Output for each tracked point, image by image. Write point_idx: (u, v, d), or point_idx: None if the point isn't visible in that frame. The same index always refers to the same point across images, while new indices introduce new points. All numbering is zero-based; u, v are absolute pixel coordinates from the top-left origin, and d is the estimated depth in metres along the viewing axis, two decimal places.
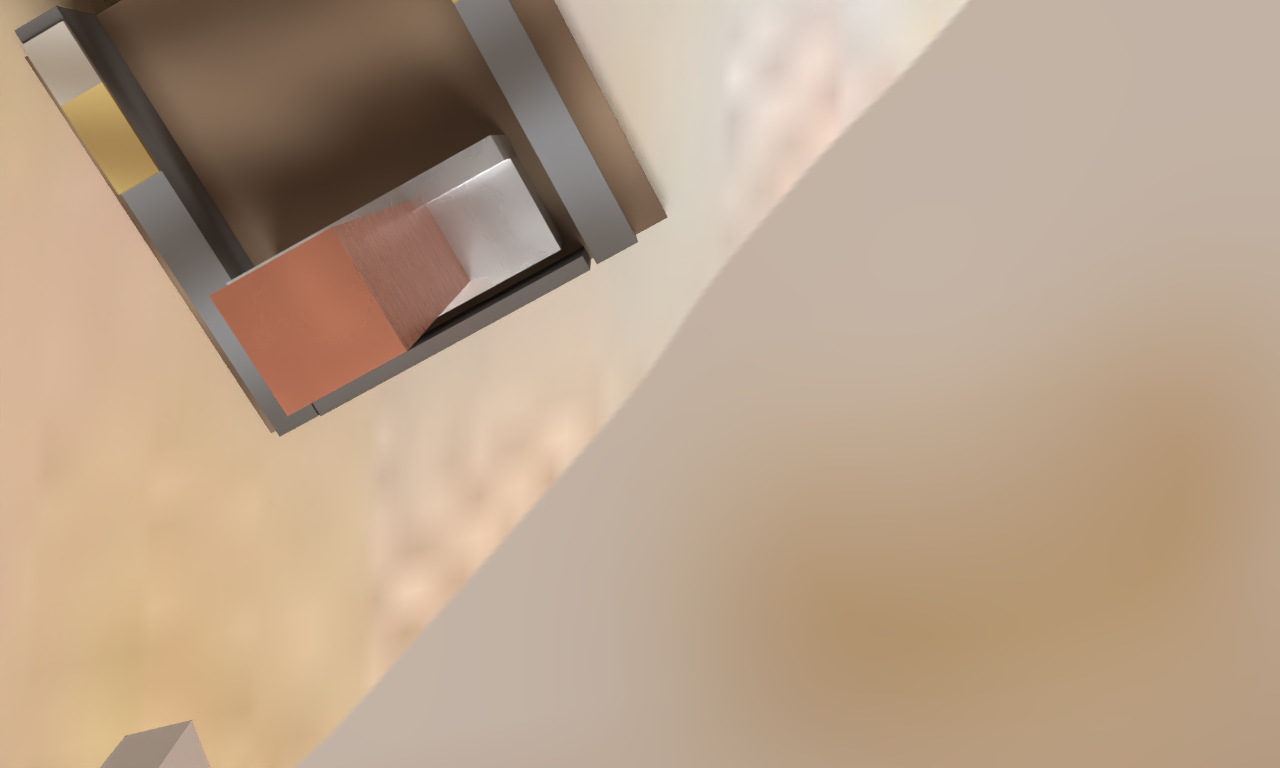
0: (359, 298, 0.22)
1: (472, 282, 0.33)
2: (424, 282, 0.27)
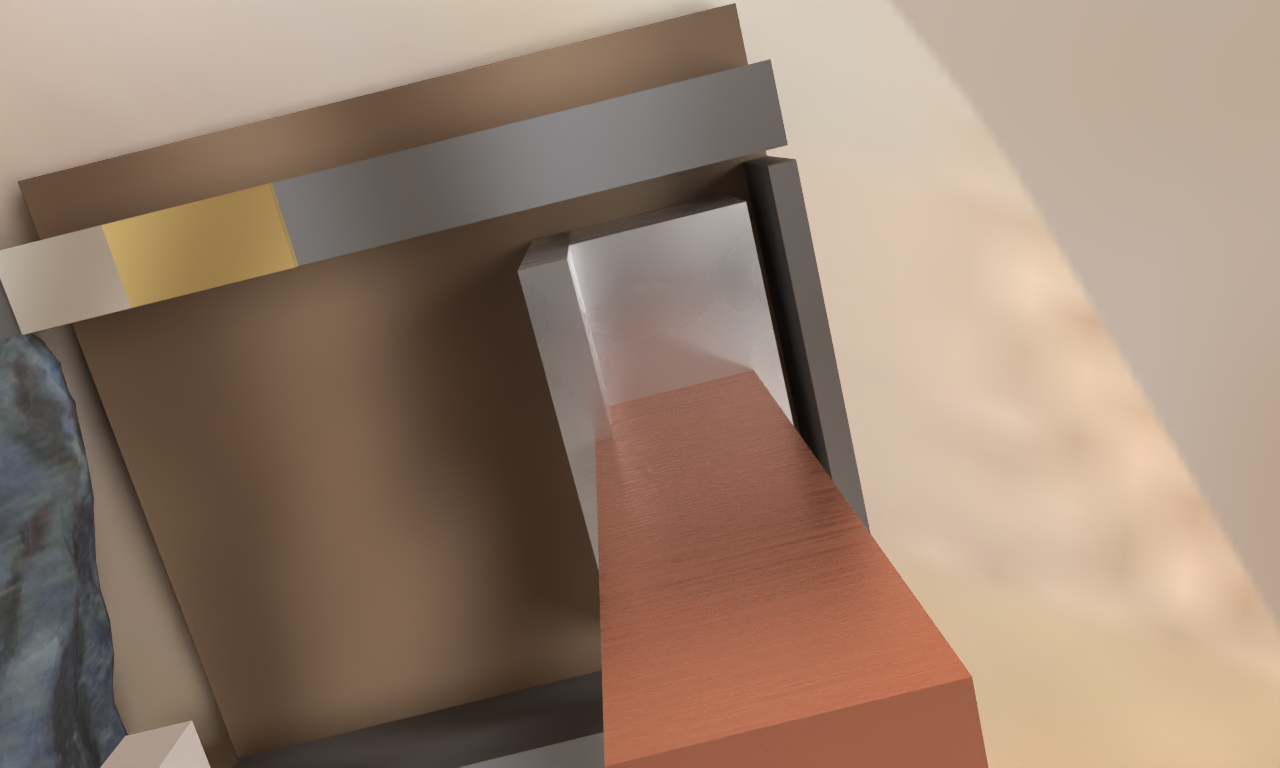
0: (802, 750, 0.08)
1: (757, 368, 0.19)
2: (759, 491, 0.13)
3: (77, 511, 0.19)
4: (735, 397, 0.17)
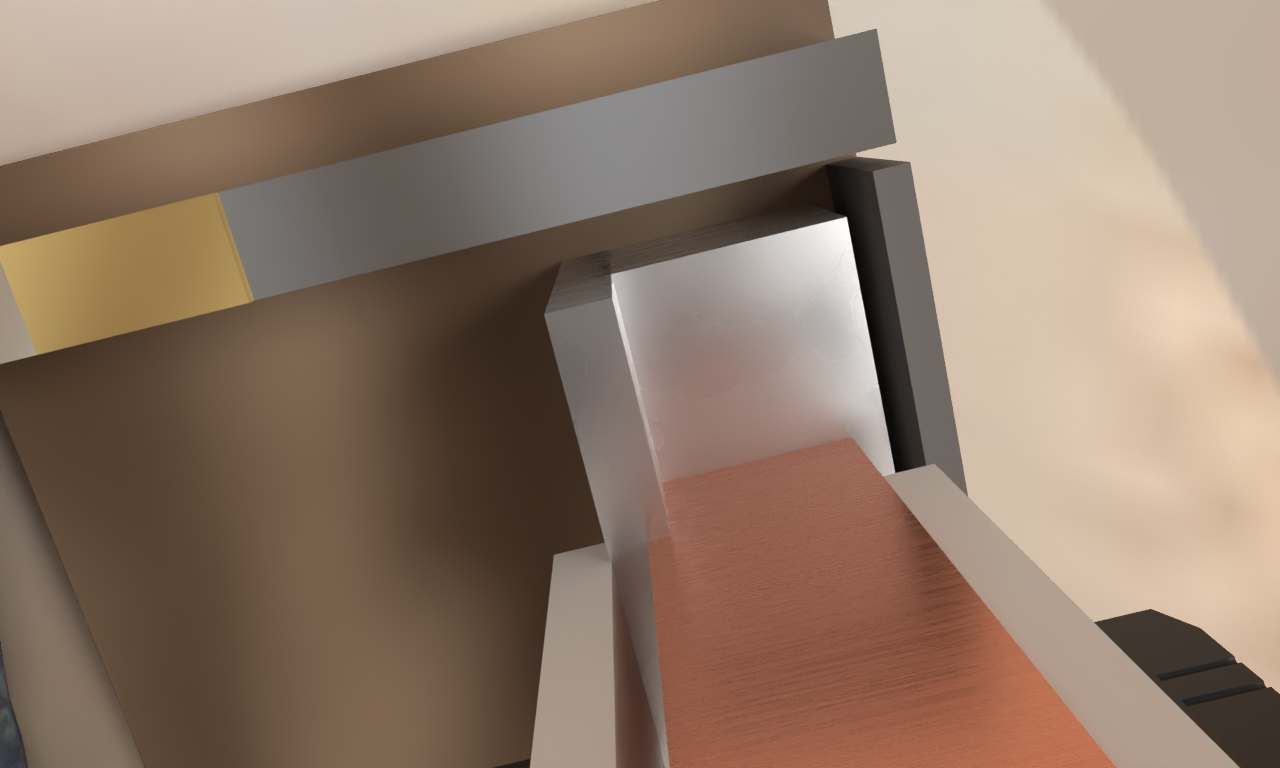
0: None
1: (856, 435, 0.14)
2: (911, 666, 0.09)
3: None
4: (835, 481, 0.13)
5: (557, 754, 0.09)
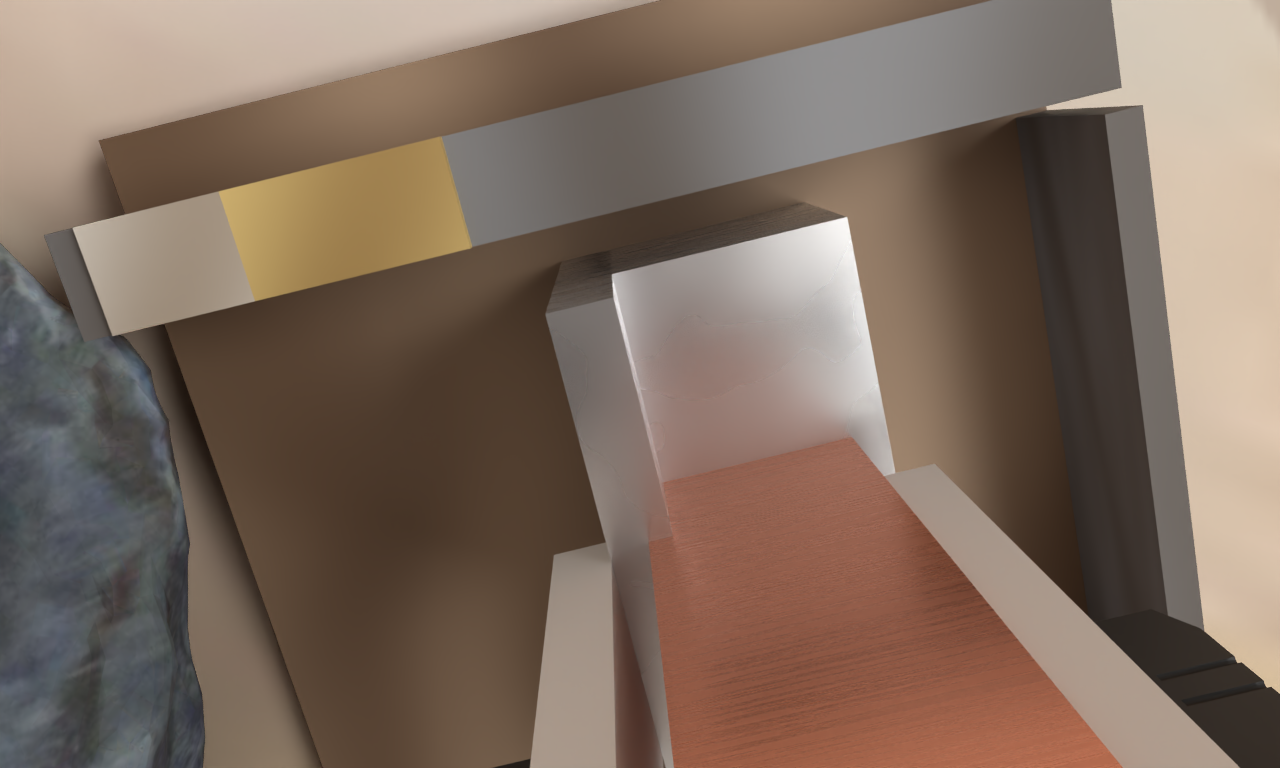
0: None
1: (857, 434, 0.14)
2: (914, 666, 0.09)
3: (171, 562, 0.15)
4: (836, 481, 0.13)
5: (557, 754, 0.09)
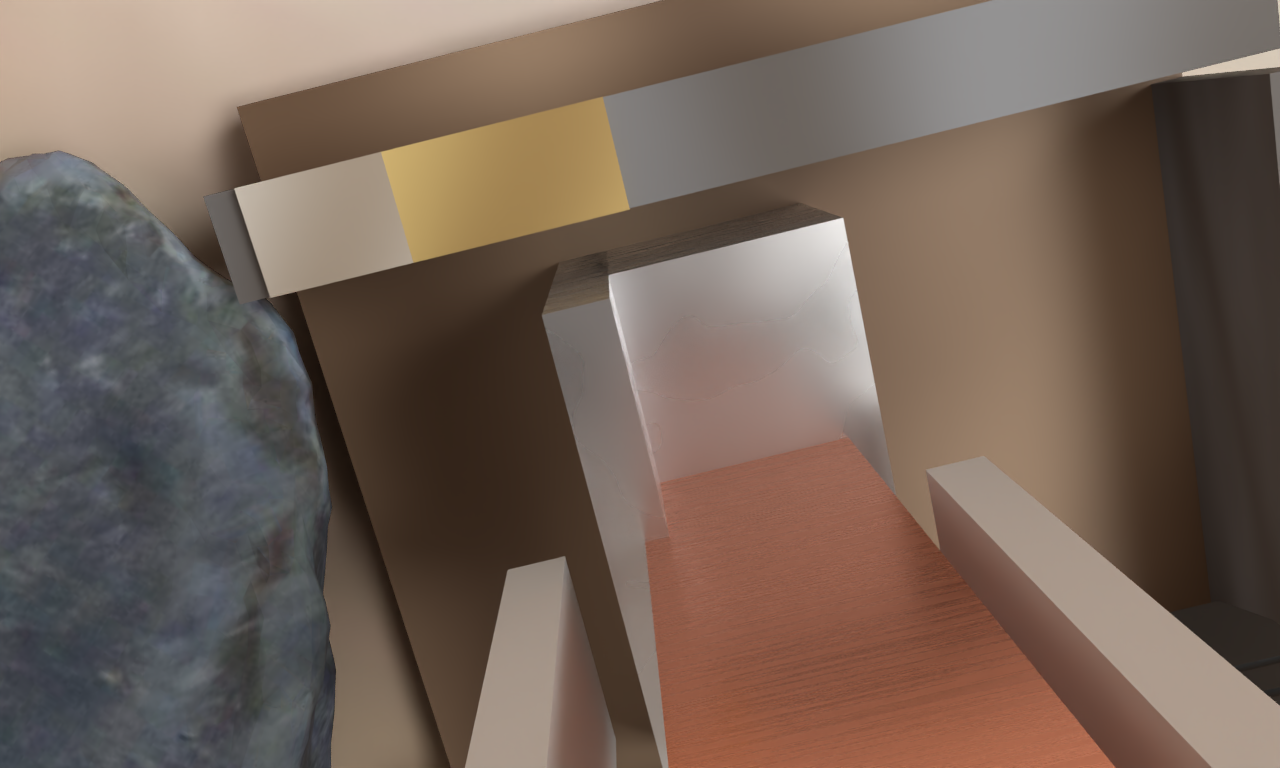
0: None
1: (853, 434, 0.14)
2: (908, 665, 0.09)
3: (317, 524, 0.15)
4: (832, 481, 0.13)
5: None
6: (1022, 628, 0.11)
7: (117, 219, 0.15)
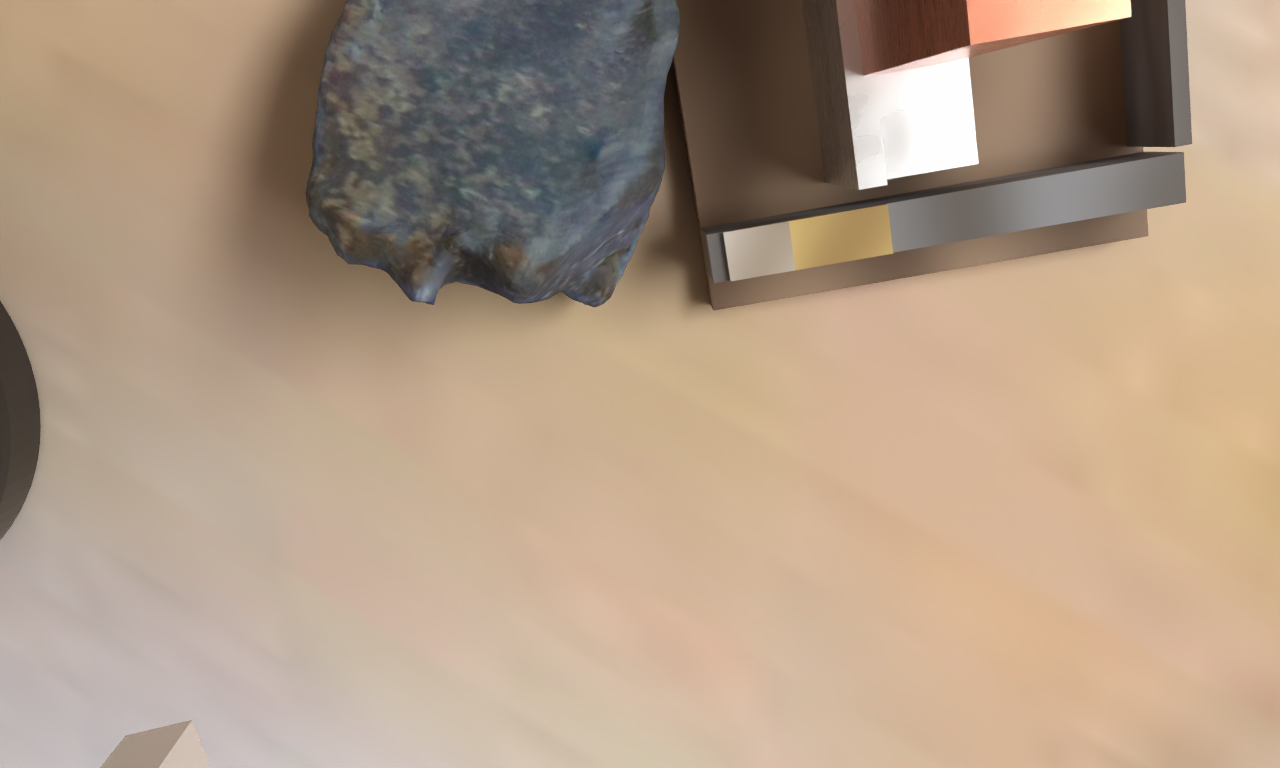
0: None
1: None
2: None
3: None
4: None
5: None
6: None
7: None
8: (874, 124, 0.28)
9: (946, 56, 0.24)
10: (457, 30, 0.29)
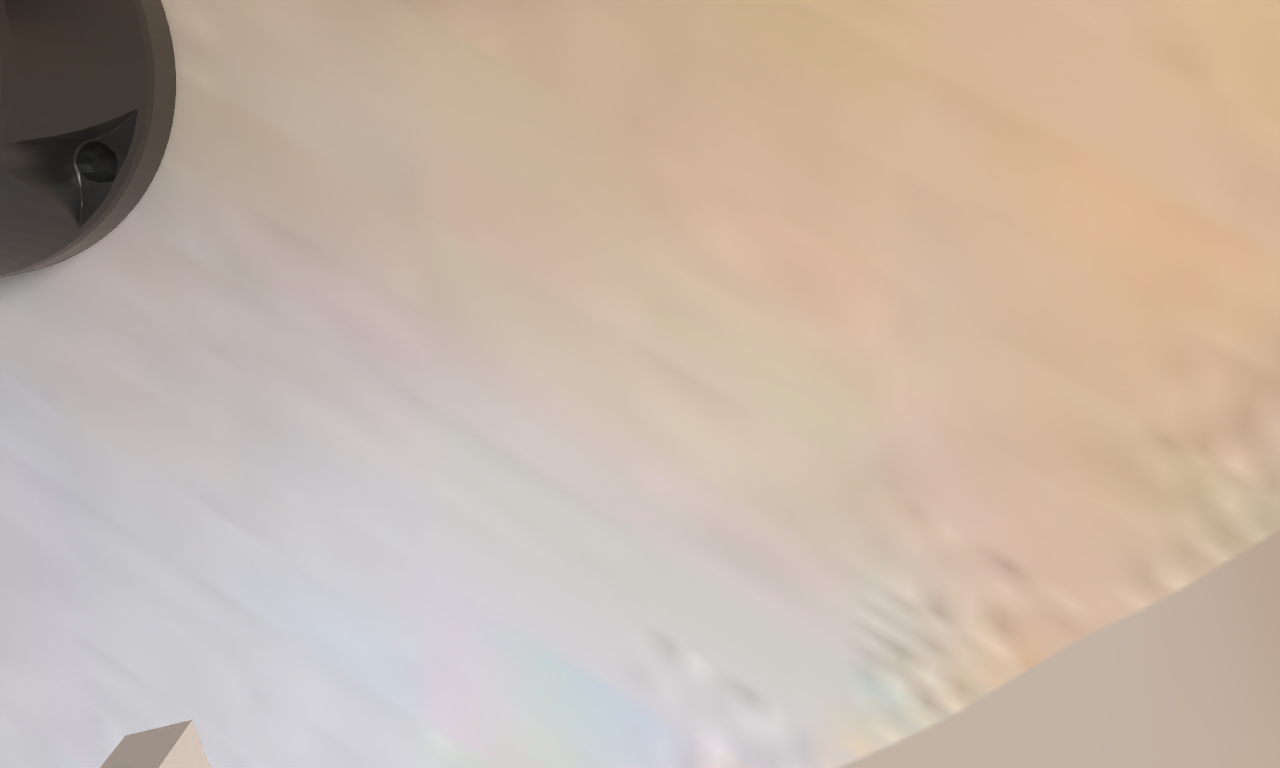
0: None
1: None
2: None
3: None
4: None
5: None
6: None
7: None
8: None
9: None
10: None
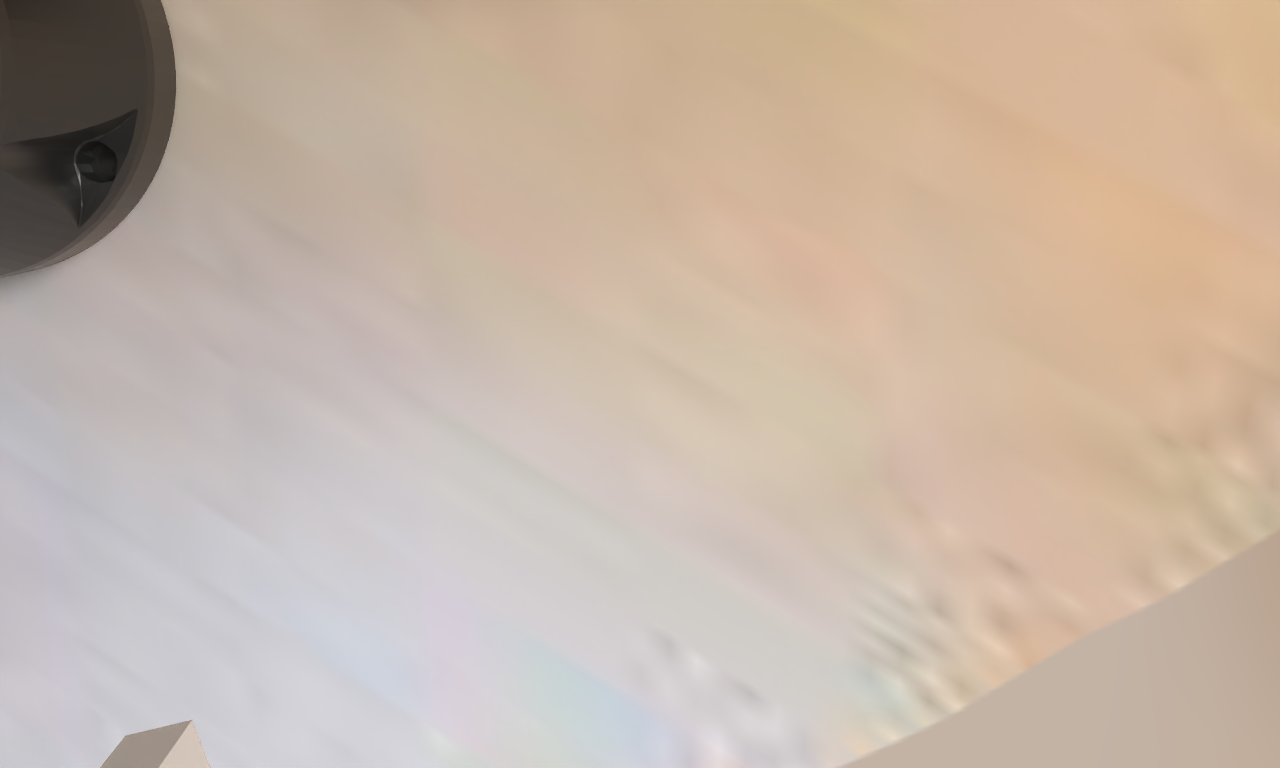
0: None
1: None
2: None
3: None
4: None
5: None
6: None
7: None
8: None
9: None
10: None
